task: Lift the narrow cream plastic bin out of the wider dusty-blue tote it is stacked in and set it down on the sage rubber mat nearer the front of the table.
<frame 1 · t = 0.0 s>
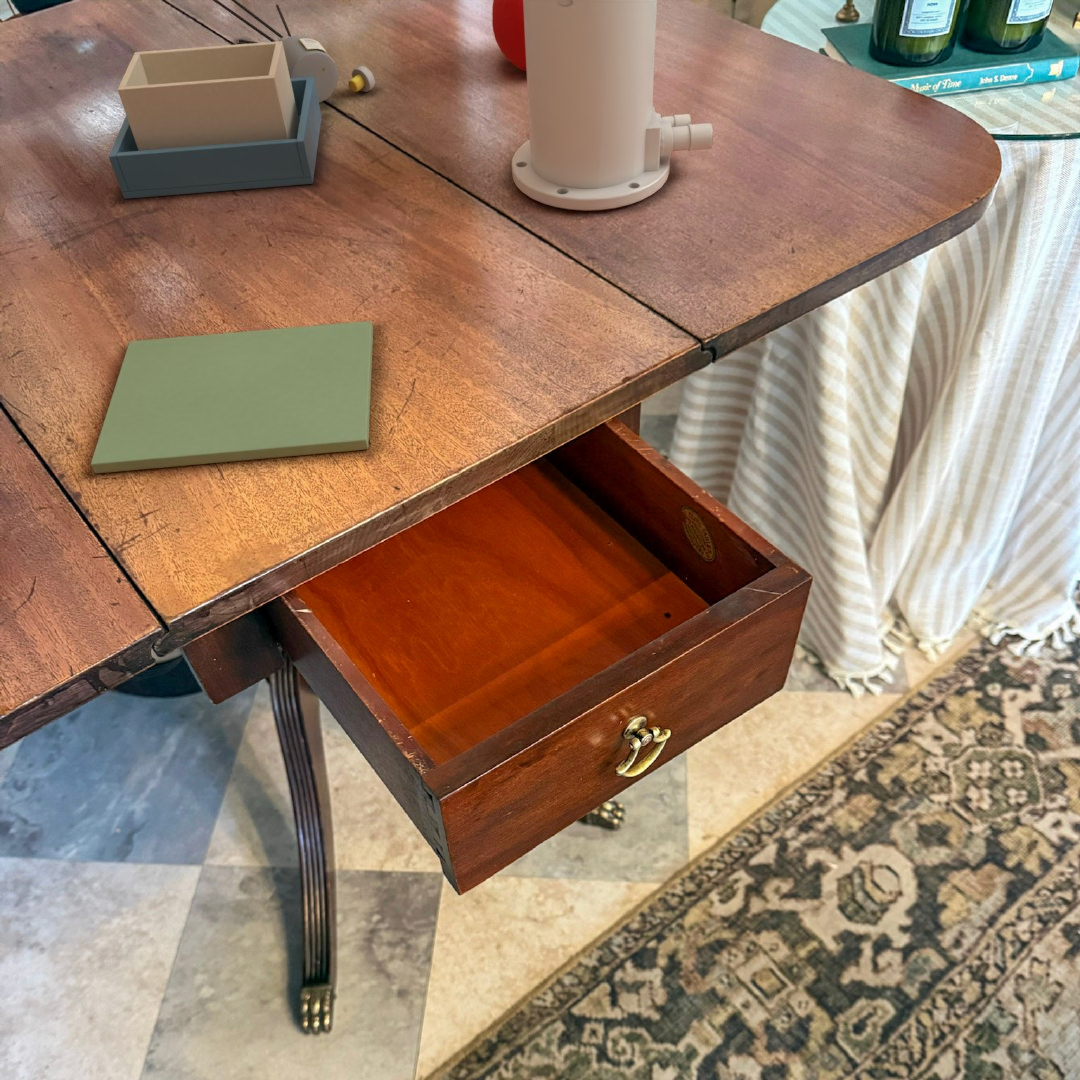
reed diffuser: (291, 71, 97), on the table
fruit: (541, 65, 96), on the table
mat: (243, 397, 63), on the table
cream bin: (226, 149, 85), point 1 cm above the table, touching blue tote
blue tote: (228, 156, 85), on the table
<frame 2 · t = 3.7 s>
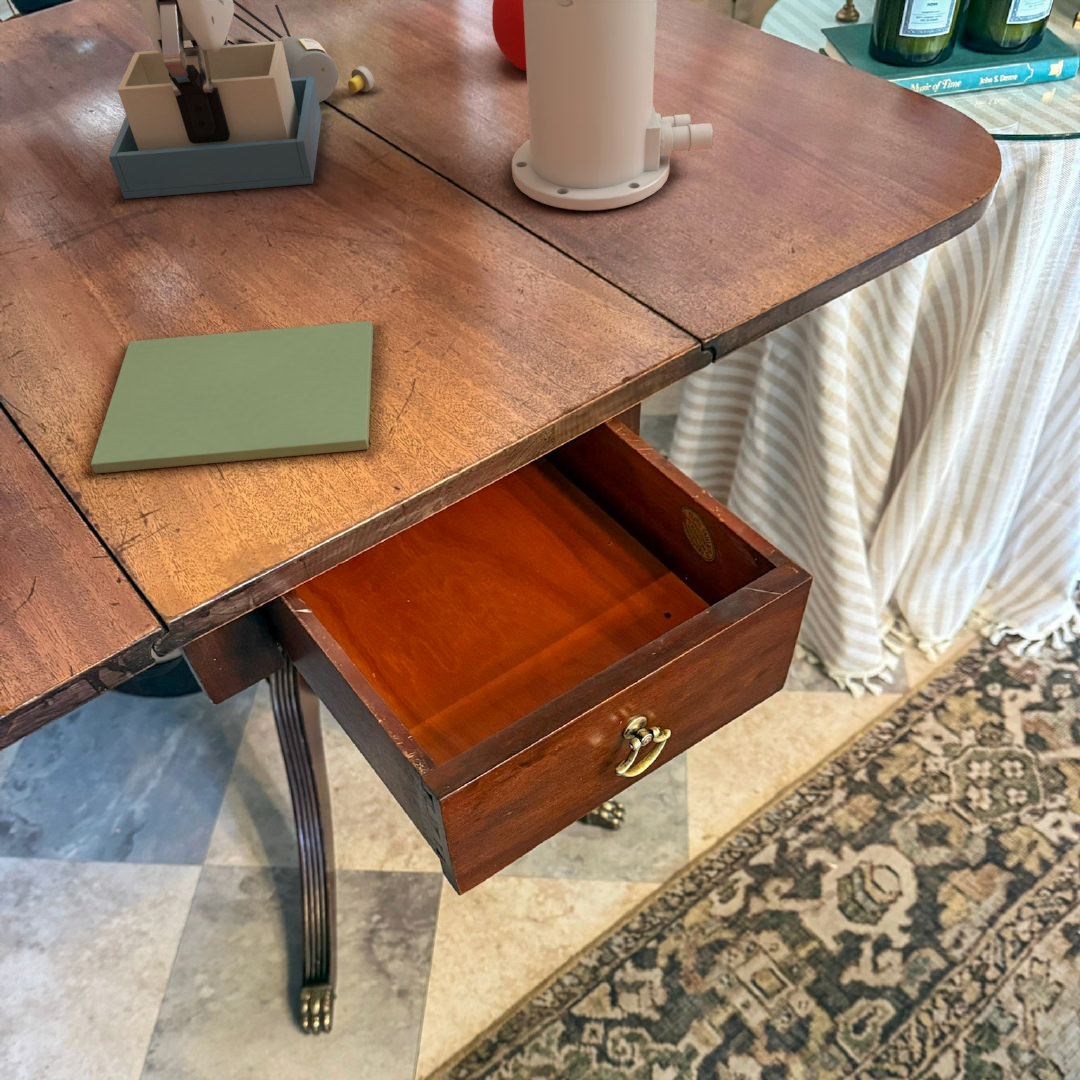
hand: (216, 116, 83), 3 cm above the table, tool pointing down, fingers closed on cream bin, 7 cm apart
cream bin: (226, 149, 85), point 1 cm above the table, touching blue tote, gripper
everything else where it was.
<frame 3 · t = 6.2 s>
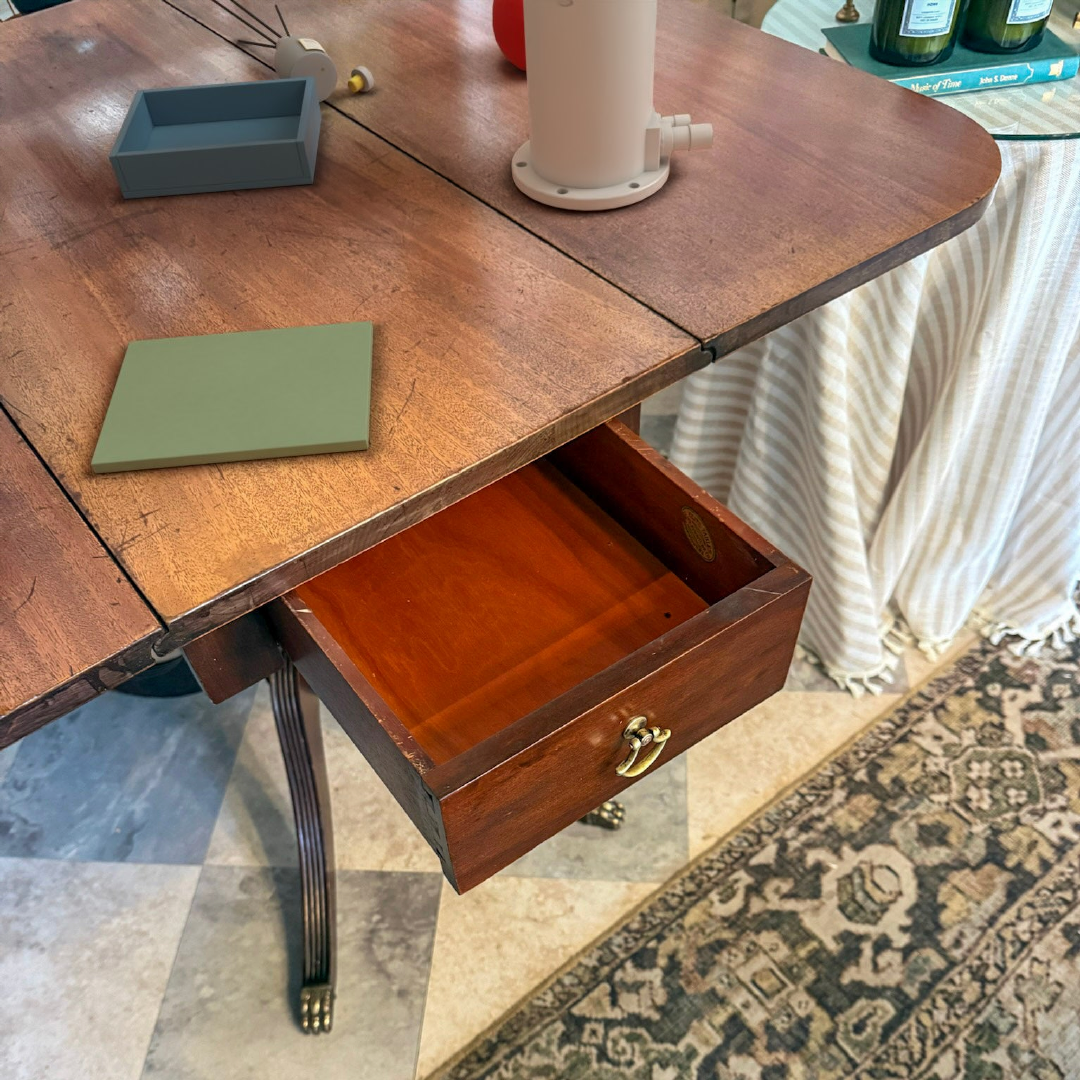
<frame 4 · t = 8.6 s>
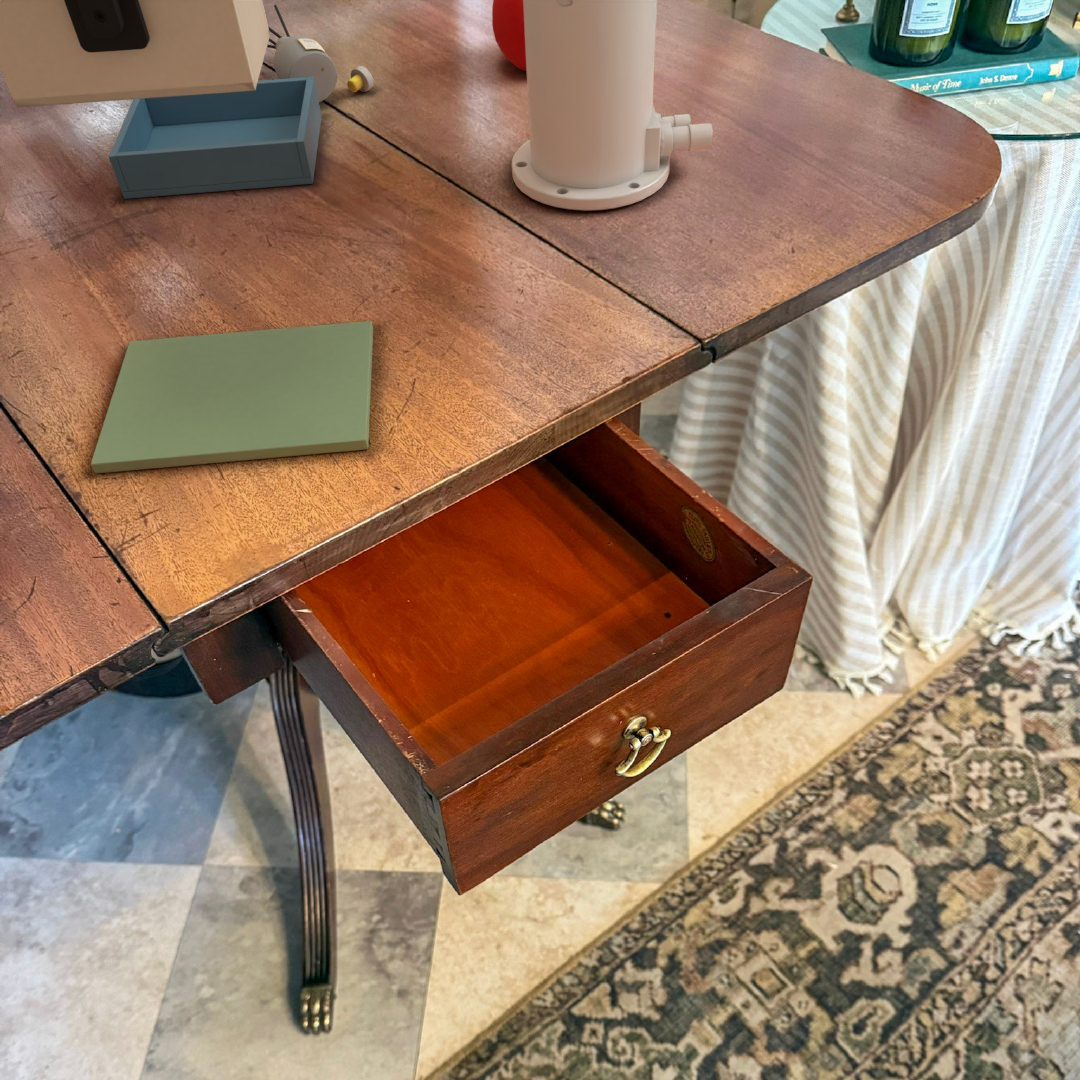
hand: (133, 14, 51), 21 cm above the table, tool pointing down, fingers closed on cream bin, 7 cm apart
cream bin: (149, 70, 53), point 18 cm above the table, touching gripper
everything else where it was.
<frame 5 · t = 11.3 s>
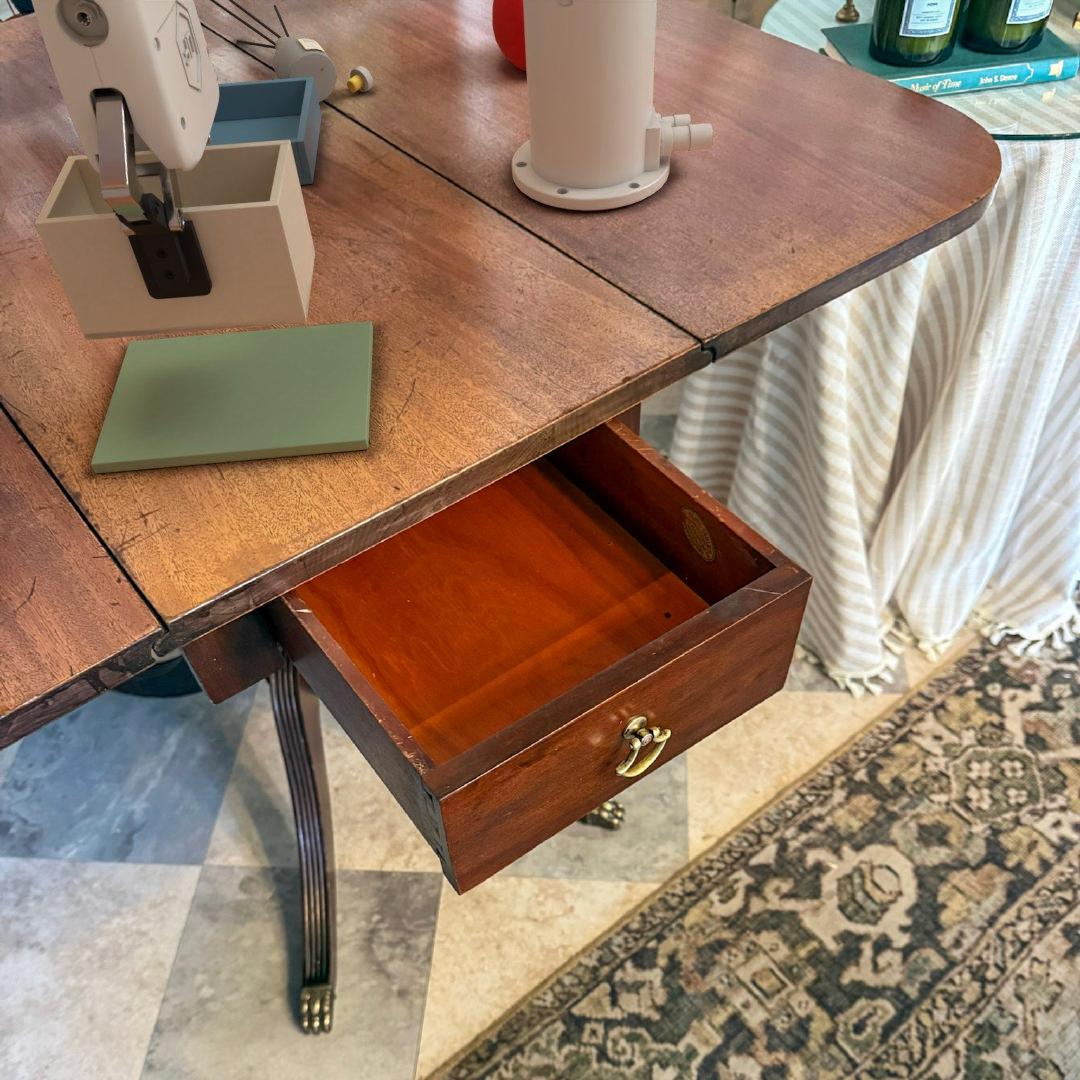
hand: (193, 251, 55), 10 cm above the table, tool pointing down, fingers closed on cream bin, 7 cm apart
cream bin: (206, 295, 57), point 8 cm above the table, touching gripper
everything else where it was.
when the fingers open (4 cm above the table, at t = 13.4 s): cream bin stays where it is, resting on mat.
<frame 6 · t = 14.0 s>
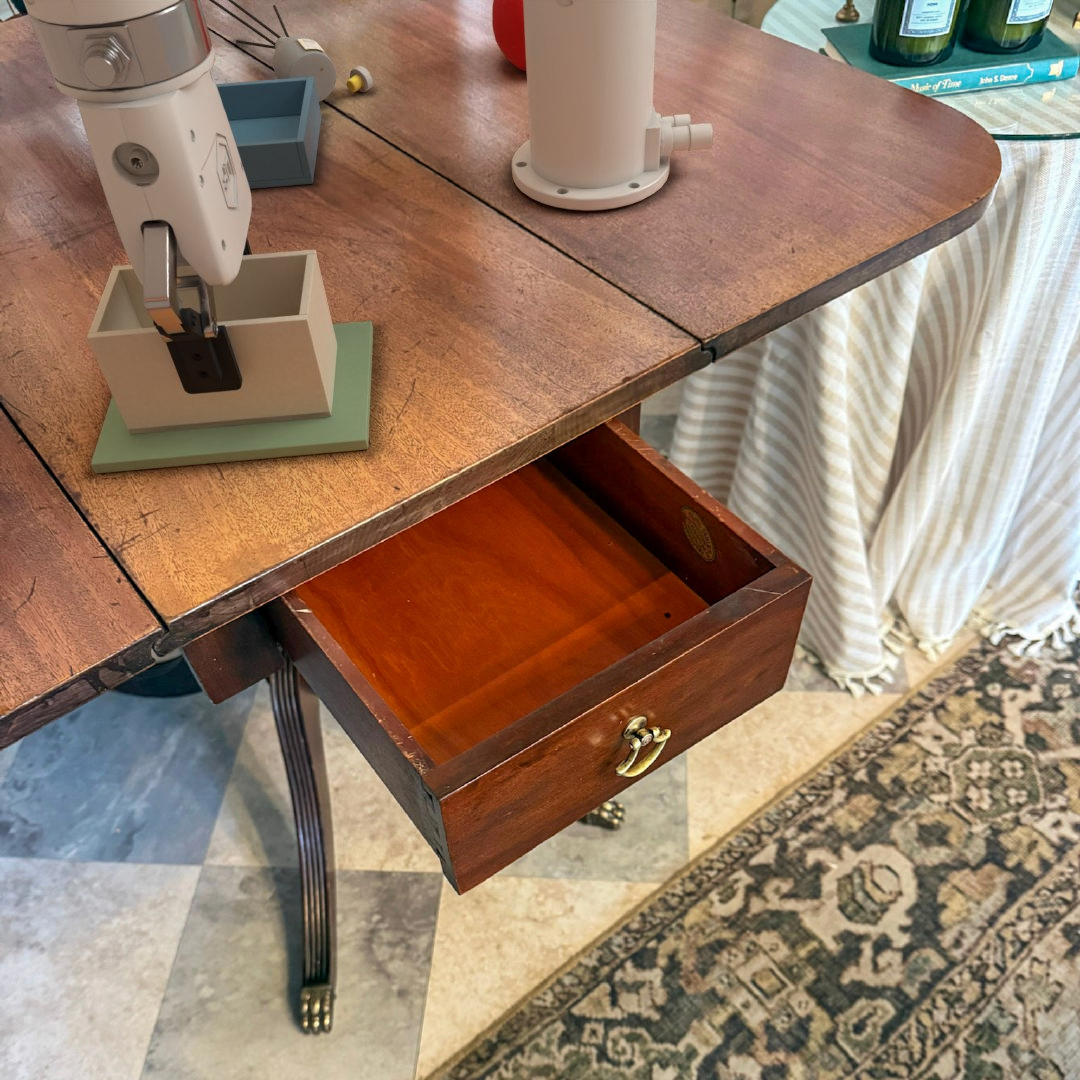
hand: (225, 337, 60), 4 cm above the table, tool pointing down, fingers open, 9 cm apart
cream bin: (238, 388, 62), point 1 cm above the table, touching mat
everything else where it was.
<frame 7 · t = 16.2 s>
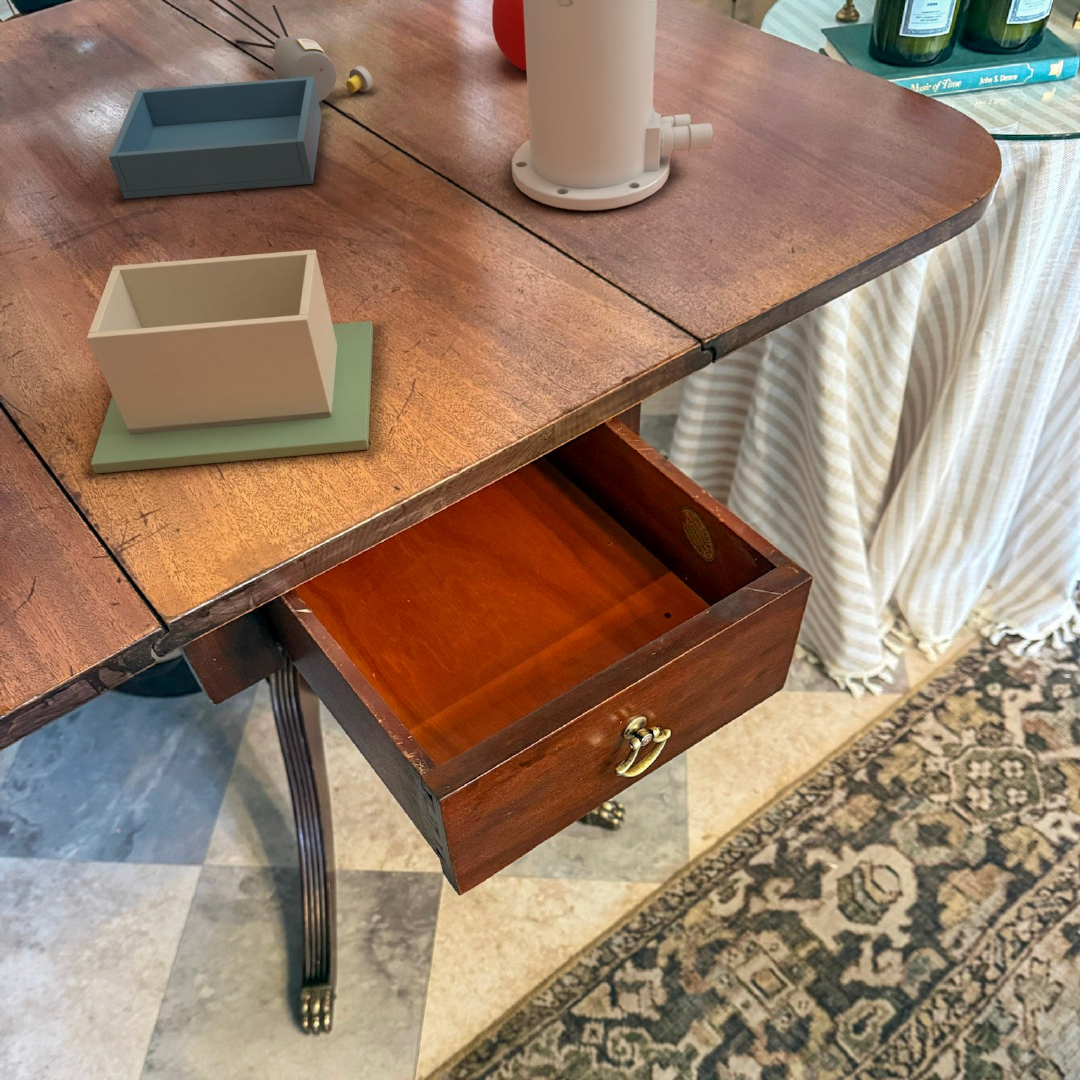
nothing on the table moved.
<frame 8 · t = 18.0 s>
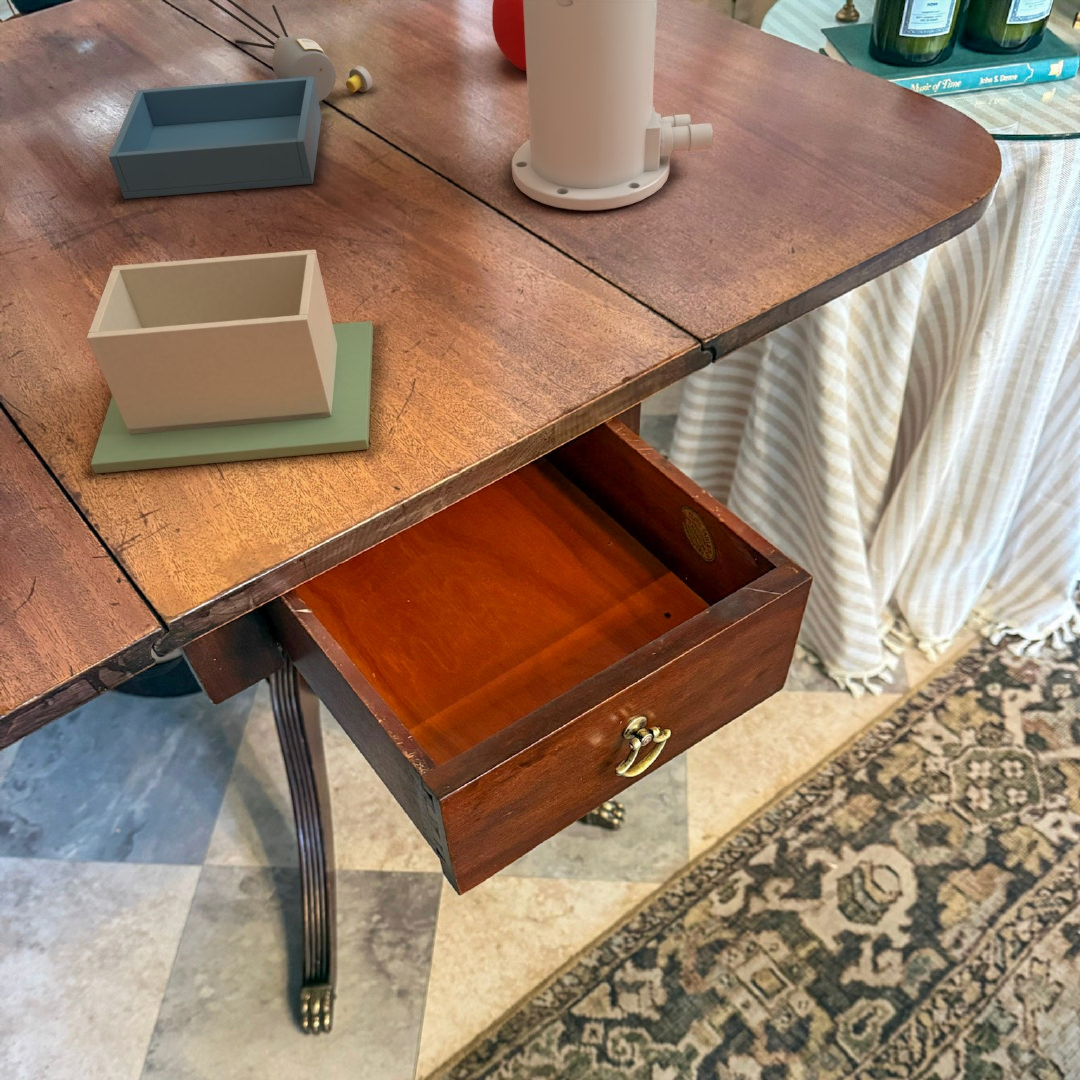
nothing on the table moved.
at the end: cream bin 0.1 cm off-centre on the mat, point 0.8 cm above the mat's base; cream bin touching mat; cream bin tilted 0° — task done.
